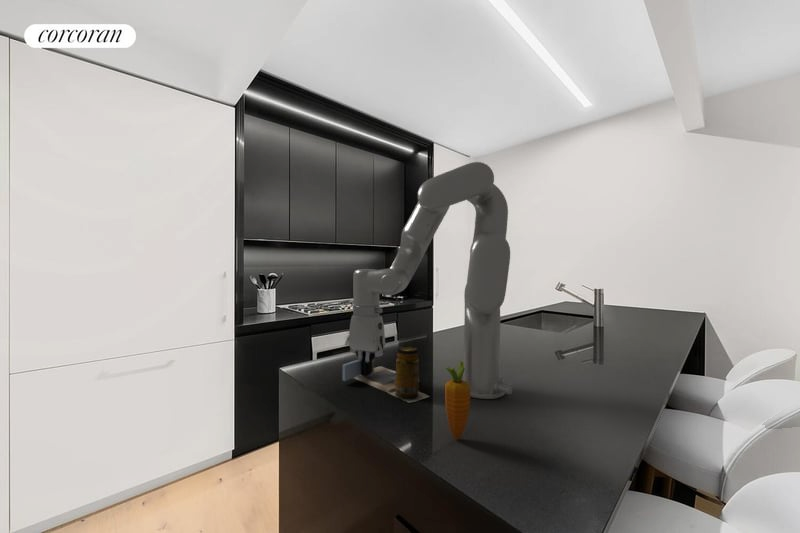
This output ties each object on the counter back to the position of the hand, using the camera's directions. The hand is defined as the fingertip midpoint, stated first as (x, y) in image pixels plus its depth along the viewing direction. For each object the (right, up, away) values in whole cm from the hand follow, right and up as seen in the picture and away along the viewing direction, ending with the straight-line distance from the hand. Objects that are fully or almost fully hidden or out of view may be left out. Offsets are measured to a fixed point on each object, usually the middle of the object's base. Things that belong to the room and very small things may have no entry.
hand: (366, 374), depth 97 cm
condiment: (+12, -3, -10) cm, 16 cm away
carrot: (+21, -3, -32) cm, 38 cm away
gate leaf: (-3, -1, +1) cm, 3 cm away
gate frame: (+5, -2, +2) cm, 6 cm away
